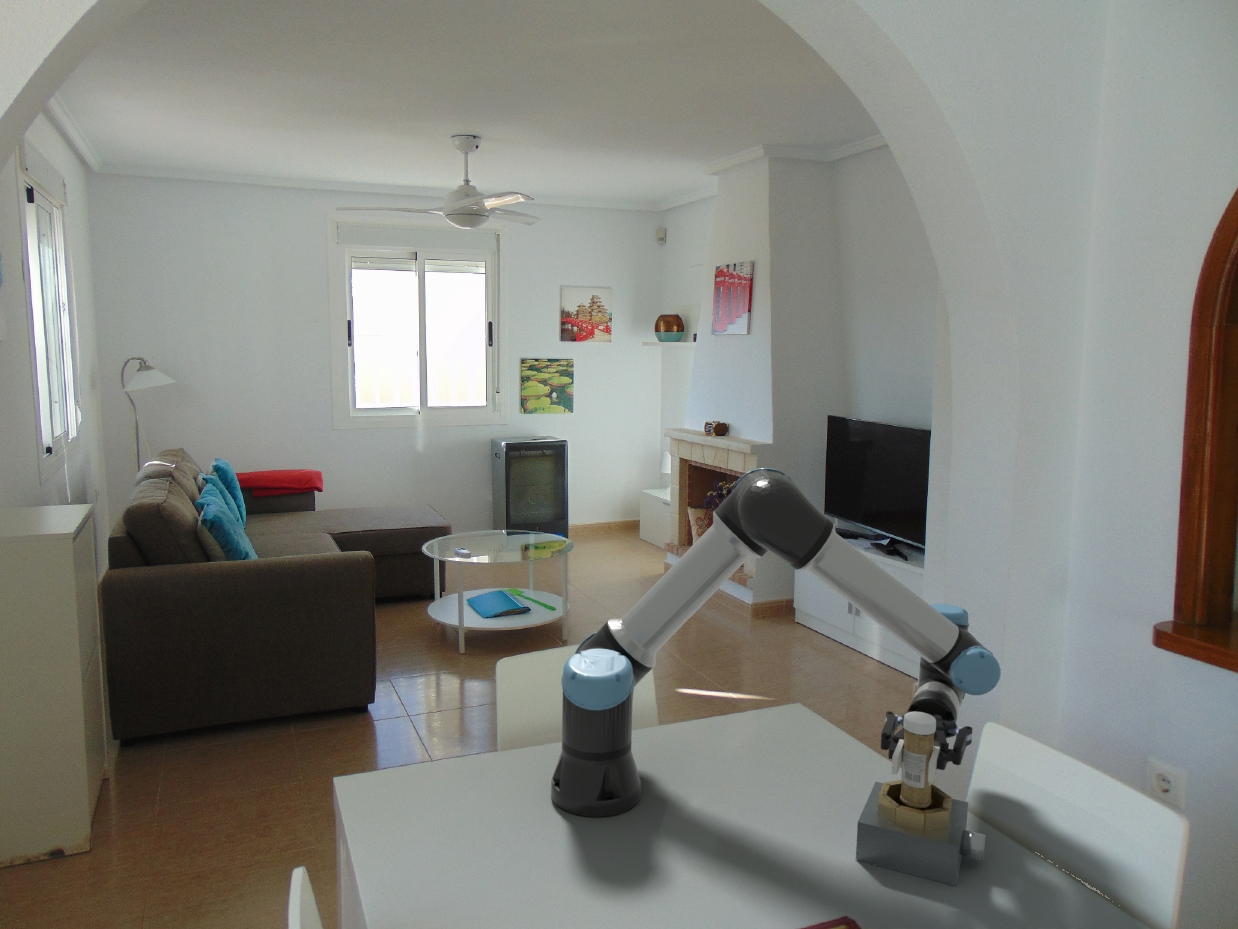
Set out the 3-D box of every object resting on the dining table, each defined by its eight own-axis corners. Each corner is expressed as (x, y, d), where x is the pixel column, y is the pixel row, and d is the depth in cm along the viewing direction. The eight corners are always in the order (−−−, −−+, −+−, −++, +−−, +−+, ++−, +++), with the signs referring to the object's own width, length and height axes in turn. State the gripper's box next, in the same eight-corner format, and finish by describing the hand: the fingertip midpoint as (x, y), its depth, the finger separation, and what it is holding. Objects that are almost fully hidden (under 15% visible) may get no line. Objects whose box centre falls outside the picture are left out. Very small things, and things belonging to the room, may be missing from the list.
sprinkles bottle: (937, 804, 133) (943, 718, 131) (917, 812, 130) (923, 725, 129) (912, 791, 137) (917, 708, 135) (892, 799, 134) (897, 714, 132)
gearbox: (855, 859, 131) (858, 805, 130) (873, 816, 144) (876, 766, 143) (978, 892, 124) (983, 835, 123) (986, 843, 136) (990, 791, 135)
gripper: (987, 744, 145) (975, 808, 124) (879, 723, 153) (850, 780, 132) (991, 700, 144) (979, 757, 123) (881, 681, 152) (852, 732, 131)
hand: (912, 769), depth 128 cm, fingers closed on sprinkles bottle, 4 cm apart
